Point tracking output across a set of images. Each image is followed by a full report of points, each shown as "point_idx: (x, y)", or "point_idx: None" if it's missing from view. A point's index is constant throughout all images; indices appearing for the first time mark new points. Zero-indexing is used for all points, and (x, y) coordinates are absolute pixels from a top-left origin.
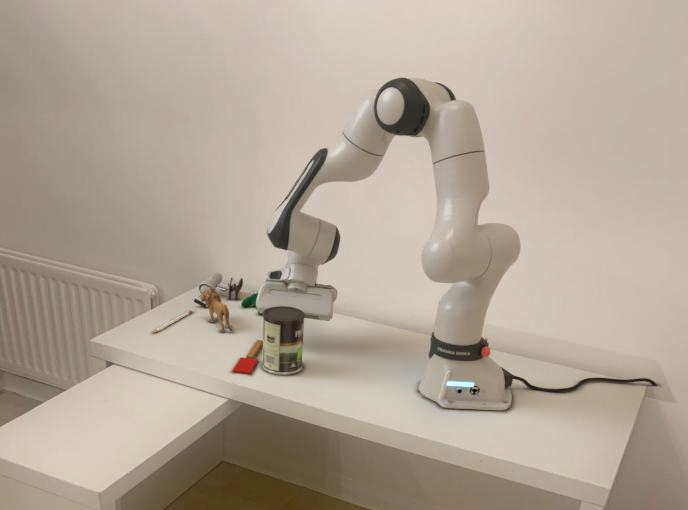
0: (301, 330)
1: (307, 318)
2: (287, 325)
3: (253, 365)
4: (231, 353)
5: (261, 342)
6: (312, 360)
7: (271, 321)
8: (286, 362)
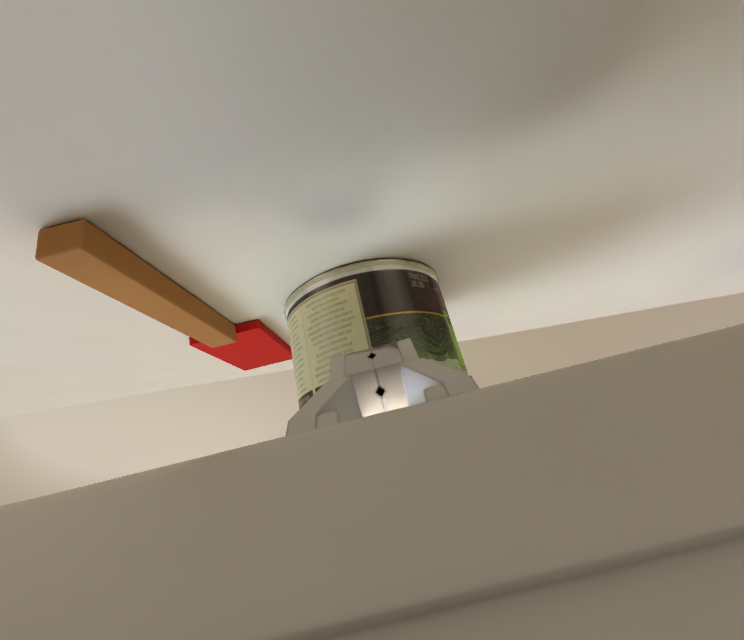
0: None
1: (532, 378)
2: None
3: (278, 345)
4: (98, 334)
5: (115, 268)
6: (479, 218)
7: None
8: None
